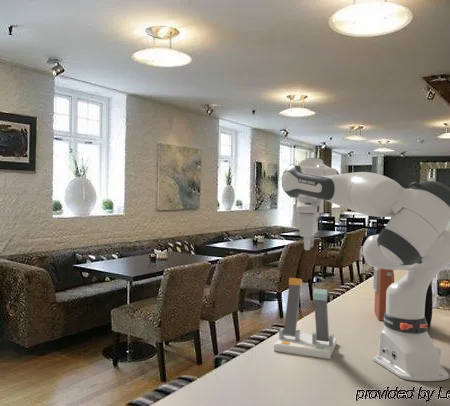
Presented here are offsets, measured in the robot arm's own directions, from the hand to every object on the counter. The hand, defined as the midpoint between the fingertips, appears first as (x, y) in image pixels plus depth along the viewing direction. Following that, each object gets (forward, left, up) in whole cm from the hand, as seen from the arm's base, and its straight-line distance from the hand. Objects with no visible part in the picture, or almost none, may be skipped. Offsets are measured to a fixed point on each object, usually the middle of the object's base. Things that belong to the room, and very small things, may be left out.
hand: (308, 248), depth 152 cm
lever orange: (-1, +6, -29) cm, 29 cm away
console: (-3, +1, -32) cm, 33 cm away
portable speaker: (+15, -46, -33) cm, 58 cm away
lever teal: (-5, -4, -29) cm, 30 cm away
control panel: (+33, -40, -33) cm, 61 cm away
